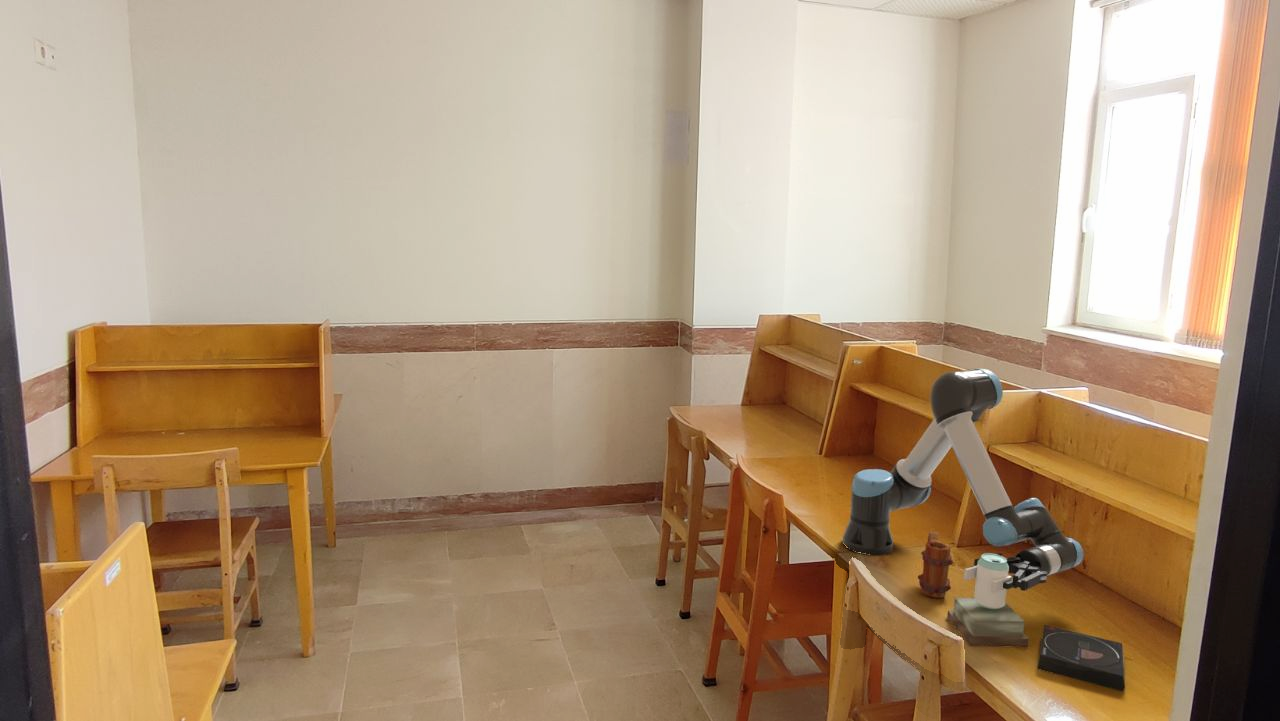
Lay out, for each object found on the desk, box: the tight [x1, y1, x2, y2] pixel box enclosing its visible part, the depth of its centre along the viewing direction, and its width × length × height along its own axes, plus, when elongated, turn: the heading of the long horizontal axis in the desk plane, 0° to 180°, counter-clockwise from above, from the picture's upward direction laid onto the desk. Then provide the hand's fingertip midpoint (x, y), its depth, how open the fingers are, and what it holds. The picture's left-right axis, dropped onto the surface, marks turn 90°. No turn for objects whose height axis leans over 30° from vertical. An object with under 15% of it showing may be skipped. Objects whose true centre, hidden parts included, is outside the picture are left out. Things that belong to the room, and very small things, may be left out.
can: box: [973, 552, 1009, 609], centre depth 201 cm, size 7×7×12 cm
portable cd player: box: [1037, 624, 1126, 692], centre depth 189 cm, size 16×17×4 cm
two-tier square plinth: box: [946, 597, 1030, 648], centre depth 202 cm, size 14×14×6 cm
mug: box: [917, 531, 954, 598], centre depth 224 cm, size 15×8×15 cm, turn 168°
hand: (978, 580), depth 198 cm, fingers closed on can, 7 cm apart
